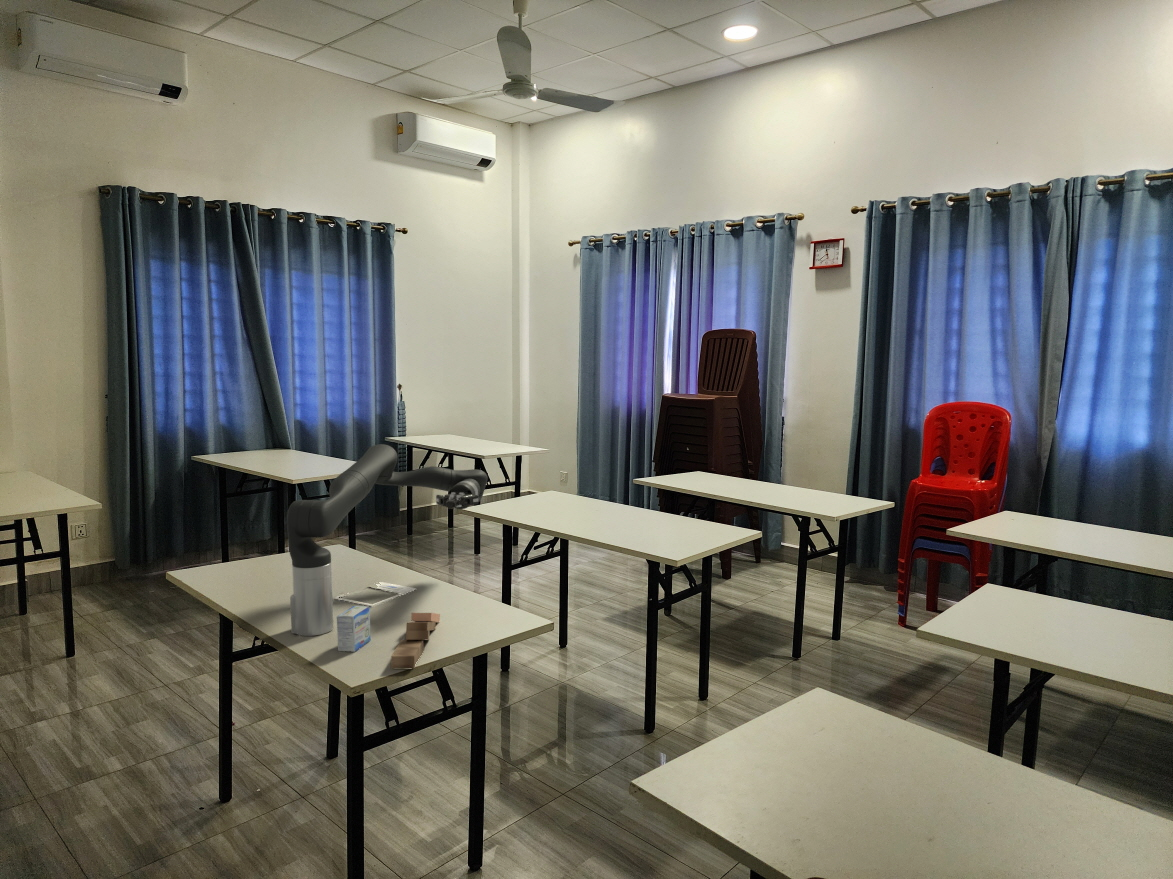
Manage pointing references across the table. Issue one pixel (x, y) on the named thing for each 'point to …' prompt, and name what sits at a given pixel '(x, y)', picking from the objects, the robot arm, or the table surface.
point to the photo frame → (389, 588)
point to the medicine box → (353, 628)
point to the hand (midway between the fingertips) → (450, 505)
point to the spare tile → (425, 617)
